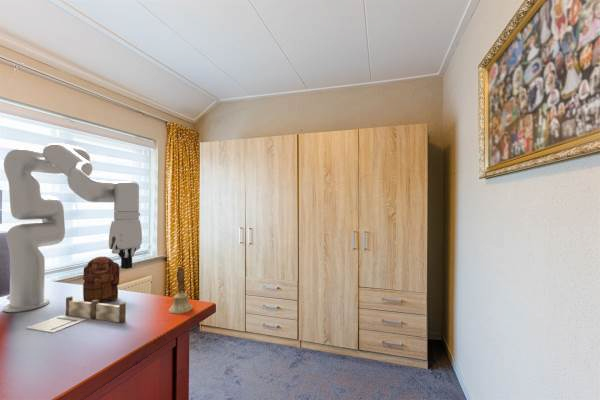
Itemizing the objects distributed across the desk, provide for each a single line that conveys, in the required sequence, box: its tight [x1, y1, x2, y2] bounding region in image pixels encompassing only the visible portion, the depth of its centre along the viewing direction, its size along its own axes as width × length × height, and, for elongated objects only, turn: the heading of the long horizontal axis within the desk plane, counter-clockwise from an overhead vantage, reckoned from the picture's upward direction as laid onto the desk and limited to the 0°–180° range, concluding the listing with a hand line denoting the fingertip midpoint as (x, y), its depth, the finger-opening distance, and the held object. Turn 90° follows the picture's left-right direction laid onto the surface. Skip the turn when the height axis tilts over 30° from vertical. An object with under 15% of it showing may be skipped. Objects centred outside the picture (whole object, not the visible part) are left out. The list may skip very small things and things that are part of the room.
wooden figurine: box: [82, 256, 120, 304], centre depth 113 cm, size 12×6×18 cm, turn 129°
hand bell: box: [168, 266, 193, 315], centre depth 105 cm, size 8×8×16 cm
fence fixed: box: [65, 296, 99, 320], centre depth 99 cm, size 14×2×6 cm, turn 74°
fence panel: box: [95, 302, 127, 324], centre depth 95 cm, size 12×2×6 cm, turn 74°
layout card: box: [26, 315, 87, 334], centre depth 92 cm, size 12×10×1 cm
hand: (126, 268), depth 100 cm, fingers closed
